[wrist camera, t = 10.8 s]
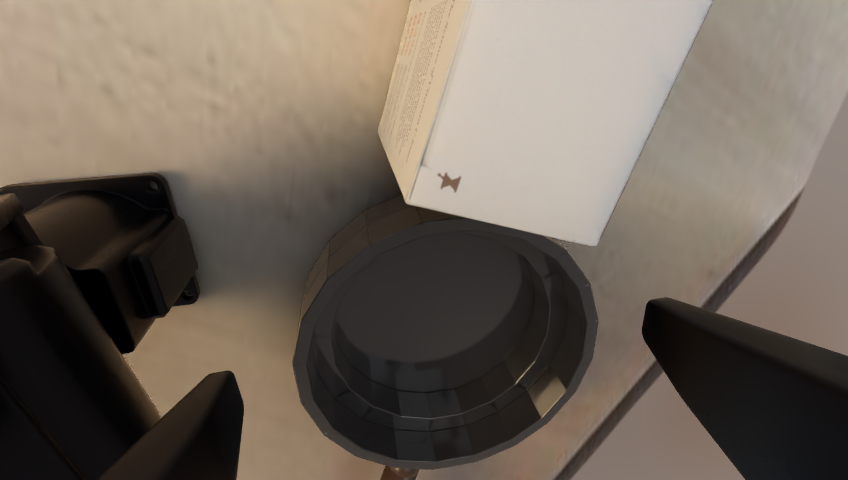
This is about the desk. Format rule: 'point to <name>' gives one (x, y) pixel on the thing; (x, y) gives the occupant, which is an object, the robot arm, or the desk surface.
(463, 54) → the small box
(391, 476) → the pan handle
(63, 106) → the desk surface
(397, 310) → the pan
